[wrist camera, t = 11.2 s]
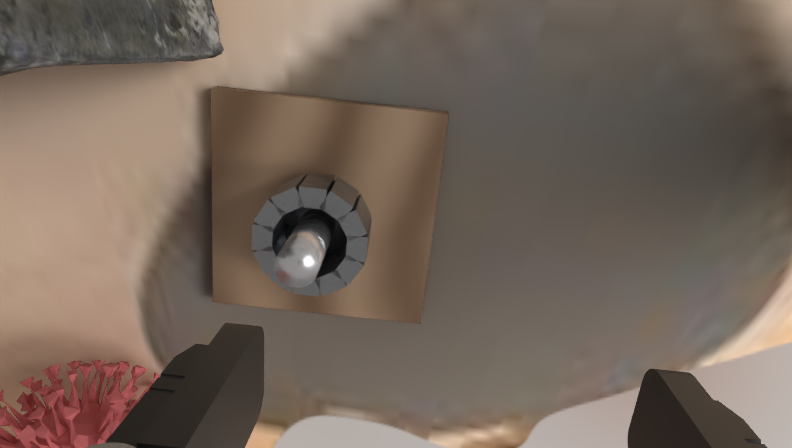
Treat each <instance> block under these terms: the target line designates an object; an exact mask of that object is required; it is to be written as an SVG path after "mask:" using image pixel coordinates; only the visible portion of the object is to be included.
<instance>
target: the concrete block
mask: <svg viewBox="0 0 792 448" xmlns="http://www.w3.org/2000/svg"><path fill="white" fill-rule="evenodd" d="M218 26H219V20H218V17H217V15H216V13H215V11H214V7H213V4H212V0H0V76H2V75H6V74H10V73H14V72H18V71H22V70H26V69H30V68H37V67H45V66H64V65H90V64H130V63H149V62H172V61H195V60H199V59H206V58H213V57H216V56H218V55H220V54H222V52H223V50H224V49H223V47H222V45H221V42H220V38H219V29H218Z"/></svg>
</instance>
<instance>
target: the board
mask: <svg viewBox="0 0 792 448" xmlns="http://www.w3.org/2000/svg"><path fill="white" fill-rule="evenodd" d="M448 119H449V113H448V112H447V111H438V110H429V109H419V108H410V107H401V106H392V105H383V104H374V103H365V102H356V101H347V100H337V99H328V98H319V97H310V96H301V95H292V94H283V93H274V92H264V91H255V90H246V89H237V88H228V87H219V86H217V87H213V88H211V165H212V257H213V302H218V303H227V304H237V305H246V306H256V307H265V308H275V309H284V310H294V311H304V312H313V313H323V314H332V315H342V316H351V317H361V318H370V319H380V320H389V321H399V322H408V323H418V324H421V317H422V310H423V302H424V295H425V288H426V280H427V273H428V266H429V258H430V251H431V244H432V236H433V229H434V222H435V214H436V207H437V200H438V192H439V185H440V178H441V171H442V163H443V156H444V149H445V141H446V134H447V127H448ZM310 172H312V173H321V174H330V175H335V180H336V179H337V178H338V176H339V177H340V178H341V179H343V180H344V181H346V182H347V183H348V184H350V185H351V186H353V187H354V188H355V189H357V190H358V191H359V192H358V195H359V194H362V196H363V198H364V201H365V203H366V205H367V207H368V209H369V211H370V213H371V219H372V224H371V234H370V243H369V248H368V252H367V257H366V262H365V264H364V266H363V268H362V269H361V270H360V272H359V273H358V274H357V275H356V277H355V278H354V279H353V280H352V282H351V283H350V284H347V286H346V287H345V288H342V289H340V290H337V291H335V292H332V293H329V294H327V295H324V296H323V295H322V294H321V293H320V295H319V297H318V296H309V295H301V294H293V291H294V287H293V289H292V290H291V291H290V292H288V291H287V290H285V289H284V288H282V287H281V286H279V285H278V284H276V283H274V282H273V281H271V280H270V279H268V277H269V275H270V274H271V273H270V274H267V275H265V274H264V272H263V271H262V269H261V267H260V265H259V264H258V262H257V260H256V258H255V256H254V255H253V252H254V250H253V249H252V224H253V223H254V219H255V218H256V216H257V215H258V213H259V212H260V210H261V209H262V208H263V206H264V205H265V203H266V202H267V200H268V199H269V198H270V197H271V196H272V195H273V194H274V192H275V191H276V190H277V189H278V188H279V187H280V186H281V185H282V184H283V183H284V182H286V181H289V180H291V179H293V178H296V177H298V176H300V175H303V174H305V173H307V175H308V174H309V173H310Z"/></svg>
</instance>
